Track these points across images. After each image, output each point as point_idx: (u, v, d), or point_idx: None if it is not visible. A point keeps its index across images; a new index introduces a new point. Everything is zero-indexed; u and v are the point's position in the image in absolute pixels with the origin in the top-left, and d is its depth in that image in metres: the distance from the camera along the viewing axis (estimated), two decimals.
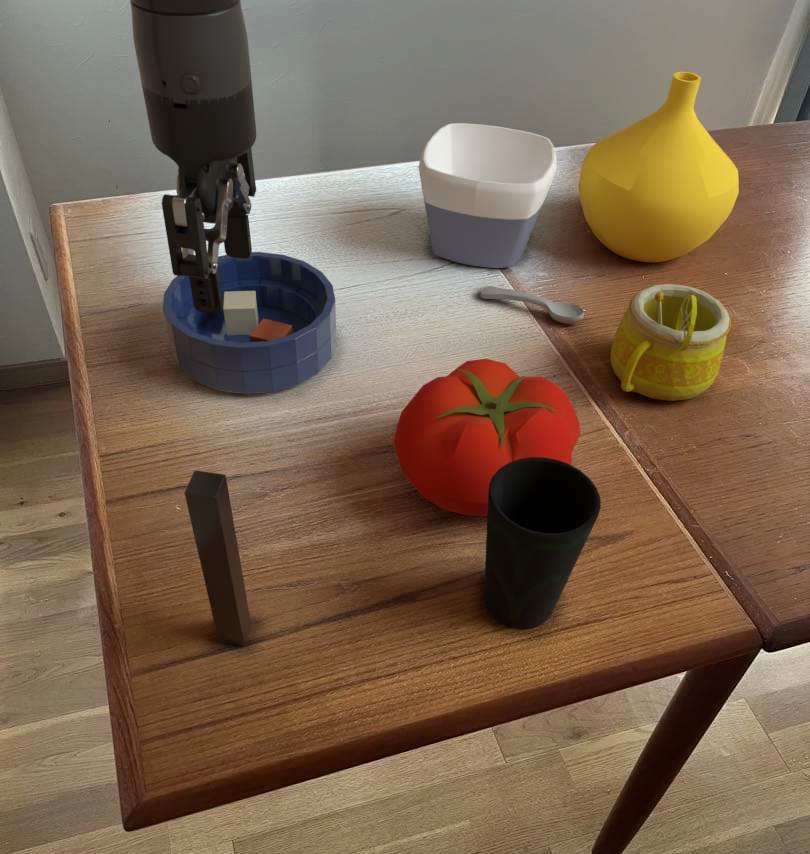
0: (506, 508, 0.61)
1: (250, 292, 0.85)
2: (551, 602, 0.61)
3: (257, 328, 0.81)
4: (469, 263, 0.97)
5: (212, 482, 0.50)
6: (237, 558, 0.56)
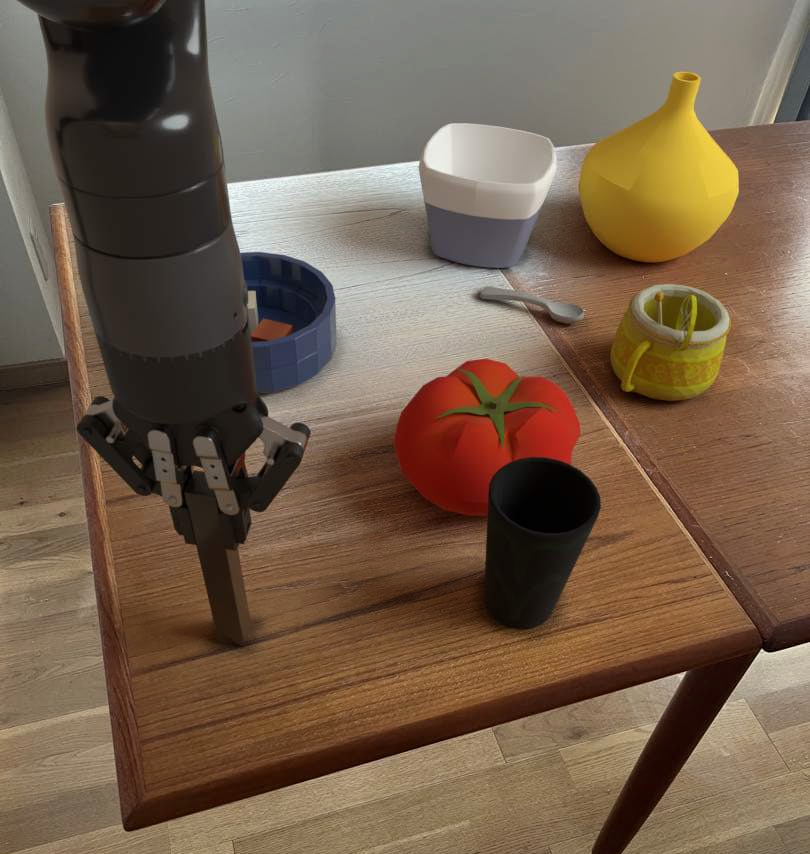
0: (506, 508, 0.61)
1: (250, 292, 0.85)
2: (551, 602, 0.61)
3: (257, 328, 0.81)
4: (469, 263, 0.97)
5: None
6: (237, 558, 0.56)
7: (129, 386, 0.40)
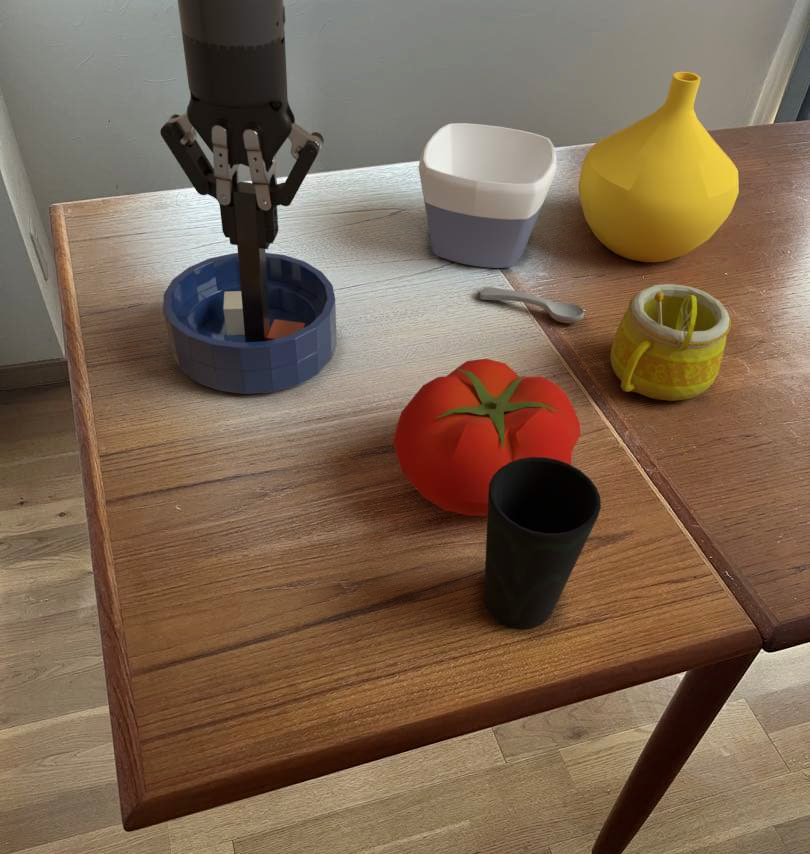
0: (506, 508, 0.61)
1: None
2: (551, 602, 0.61)
3: (271, 329, 0.81)
4: (469, 263, 0.97)
5: (252, 187, 0.70)
6: (265, 266, 0.76)
7: (205, 74, 0.60)
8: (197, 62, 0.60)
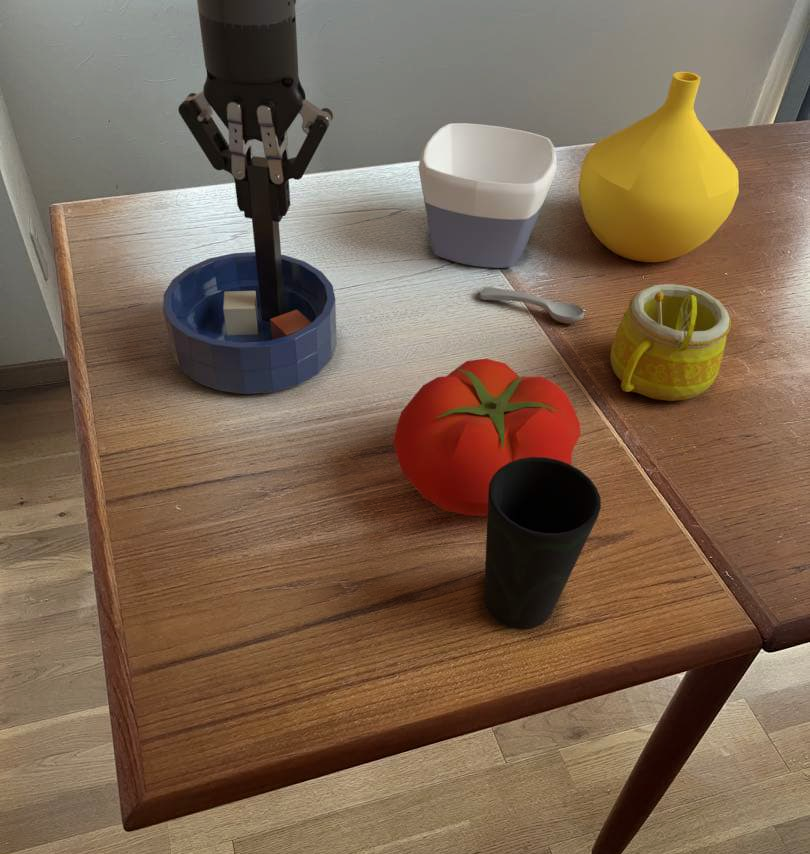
0: (506, 508, 0.61)
1: (250, 292, 0.85)
2: (551, 602, 0.61)
3: (282, 315, 0.83)
4: (469, 263, 0.97)
5: (265, 161, 0.73)
6: (278, 239, 0.79)
7: (221, 52, 0.64)
8: (213, 41, 0.63)
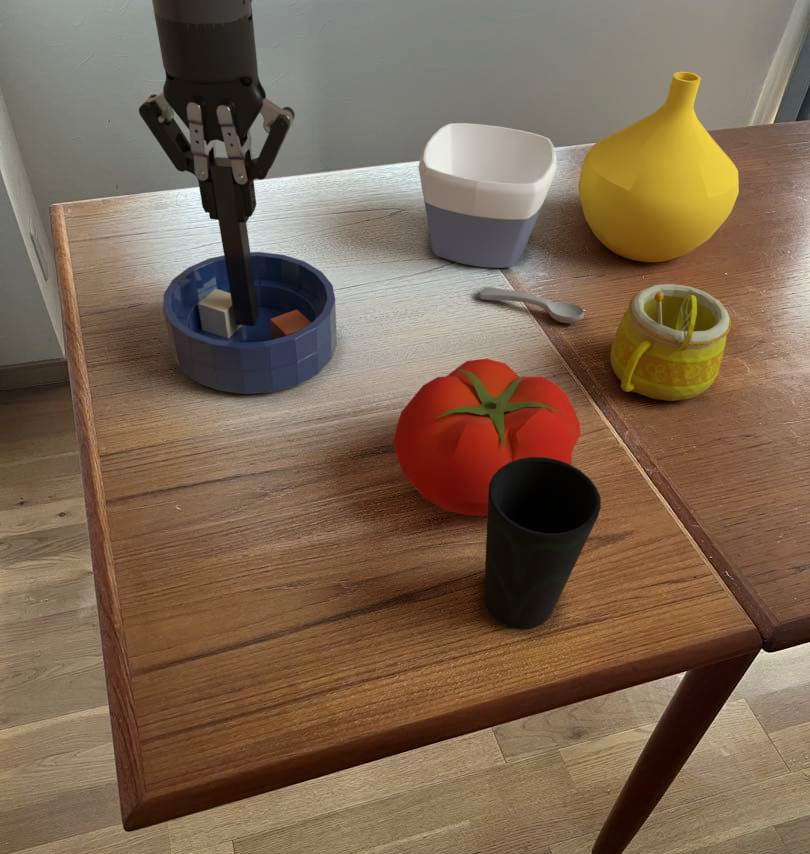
0: (506, 508, 0.61)
1: None
2: (551, 602, 0.61)
3: (282, 315, 0.83)
4: (469, 263, 0.97)
5: (228, 161, 0.73)
6: (247, 240, 0.79)
7: (177, 52, 0.63)
8: (169, 41, 0.63)
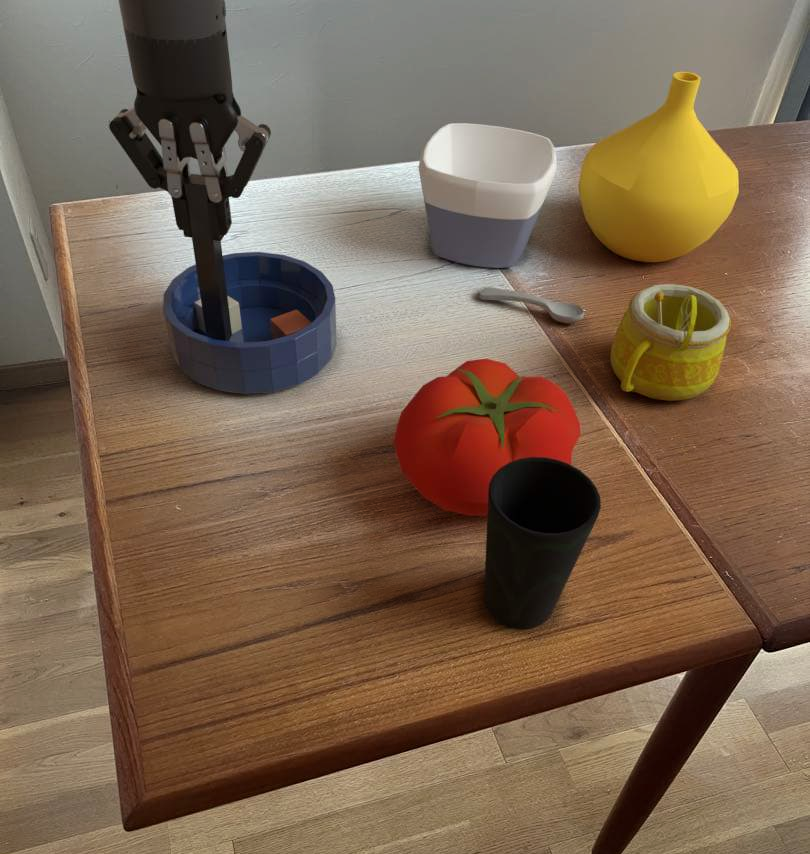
0: (506, 508, 0.61)
1: (233, 301, 0.84)
2: (551, 602, 0.61)
3: (282, 315, 0.83)
4: (469, 263, 0.97)
5: (203, 179, 0.71)
6: (221, 259, 0.76)
7: (147, 68, 0.61)
8: (139, 56, 0.61)
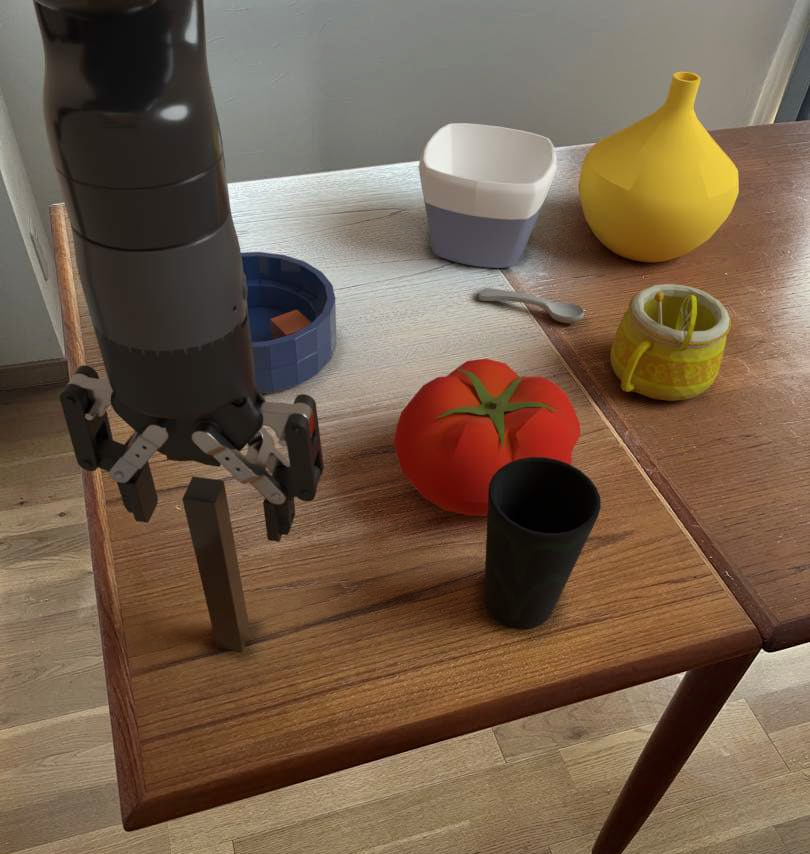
0: (506, 508, 0.61)
1: None
2: (551, 602, 0.61)
3: (282, 315, 0.83)
4: (469, 263, 0.97)
5: (210, 488, 0.49)
6: (235, 564, 0.55)
7: (128, 380, 0.40)
8: (115, 364, 0.40)
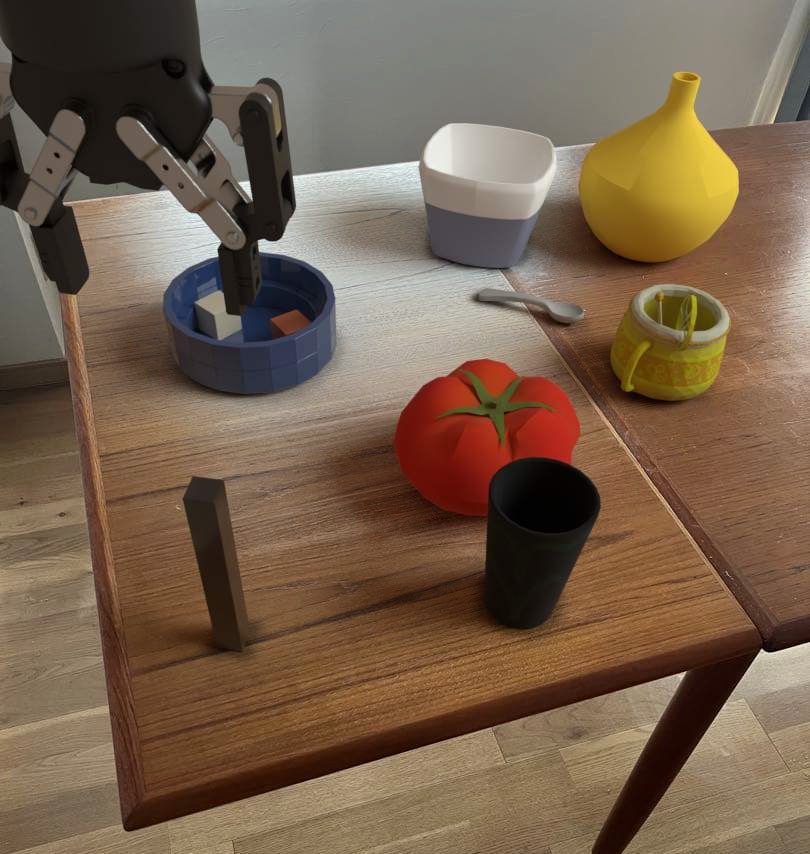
0: (506, 508, 0.61)
1: None
2: (551, 602, 0.61)
3: (282, 315, 0.83)
4: (469, 263, 0.97)
5: (210, 488, 0.49)
6: (236, 564, 0.55)
7: (16, 1, 0.29)
8: None
